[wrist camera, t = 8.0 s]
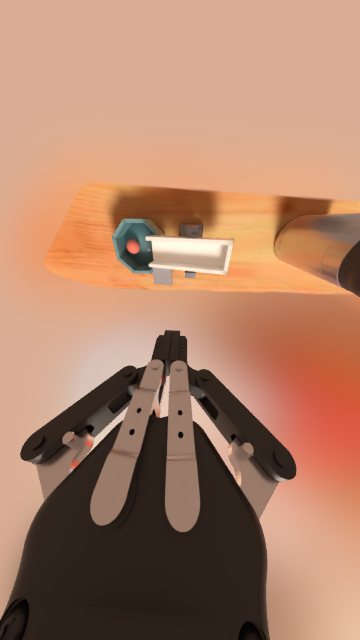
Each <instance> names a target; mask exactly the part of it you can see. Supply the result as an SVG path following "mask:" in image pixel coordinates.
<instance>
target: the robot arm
mask: <svg viewBox="0 0 360 640" xmlns="http://www.w3.org/2000/svg"><path fill="white" fill-rule="evenodd" d="M274 252H275V255H276V257H277V258H278V259H279V260H281V261H283V262H285V263H288V264H290V265H292V266H294V267H296V268H299V269H301V270H303V271H305V272H308V273H310V274H312V275H314V276H317V277H319V278H321V279H323V280H326V281H328V282H330V283H333V284H335V285H337V286H339V287H342V288H344V289H346V290H348V291H350V292H353V293H354V294H356V295H357V296H359V297H360V213H358V214H326V215H304V216H300V217H297V218H295V219H293V220H292V221H290V222H289V223H288V224H287V225H286V226H285V227H284V228H283V229H282V230H281V232H280V233H279V235H278V236H277V239H276V241H275V245H274ZM169 374H170V392H169V410H168V411H169V414H168V416H167V417H163V418H160V408H161V403H162V398H163V393H164V389H165V382H166V376H169ZM190 395H191V396H194V398H195V399H196V401H197V402H198V403H199V405H200V406H201V407H202V409H203V410H204V411H205V412H206V414H207V415H208V416H209V418H210V419H211V421H212V422H213V423H214V424H215V426H216V427H217V428H218V430H219V431H220V432H221V434H222V435H223V436H224V438H225V439H226V440H227V442H228V443H229V444H230V445H229V447H228V457H229V460H230V462H231V464H232V466H233V467H234V470H235V473H236V480H235V479H234V477H233V475H232V474H231V472H230V471H229V469H228V467H227V466H226V465H225V463H224V461H223V460H222V458H221V457H220V455H219V453H218V452H217V450H216V449H215V447H214V445H213V444H212V443H211V441H210V439H209V438H208V436H207V435H206V433H205V432H204V430H203V429H202V428H201V427H200V426H199V425H198V424H197V423H196V422H194V421H192V410H191V398H190ZM128 406H129V407H128ZM127 407H128V410H127V413H126V415H125V418H124V420H123V421H121V422H120V423H119V424H117V425H116V426H115V427H114V428H113V429H112V430H111V431H110V432H109V433H108V435H106V437H105V438H104V439H103V440H102V441H101V442H100V443H99V444H98V445H97V446H96V447H95V448H94V449H93V450H92V451H91V452H90V453H89V451H90V450H91V448H92V446H93V443H94V438H95V437H96V436H97V435H98V434H99V433H100V432H101V431H102V430H103V429H104V428H105V427H106V426H107V425H109V423H111V422H112V421H113V420H114V419H115V418H116V417H117V416H118V415H119V414H120V413H121V412H122V411H123V410H124V409H125V408H127ZM88 453H89V454H88ZM87 454H88V455H87ZM20 455H21V458H22V460H25V461H28V462H31V463H32V464H35V465H36V466H37V470H38V475H39V479H40V484H41V487H42V492H43V497H44V503H43V504H42V506H41V507H40V509H39V510H38V512H37V514H36V516H35V517H34V520H33V522H32V524H31V526H30V529H29V531H28V534H27V537H26V540H25V544H24V549H23V554H22V558H21V563H20V567H19V571H18V574H17V578H16V581H15V584H14V587H13V590H12V593H11V596H10V599H9V601H8V604H7V606H6V609H5V611H4V613H3V616H2V617H1V620H0V640H270V637H269V630H268V621H267V607H266V579H267V550H266V543H265V538H264V534H263V530H262V527H261V524H260V522H259V518H260V516H261V514H262V513H263V511H264V509H265V507H266V505H267V503H268V501H269V499H270V497H271V495H272V494H273V492H274V490H275V488H276V486H277V484H278V483H279V482H282V481H286V480H290V479H293V478H294V477H295V475H296V464H295V461H294V459H293V457H292V455H291V454H290V452H289V451H288V450H287V449H286V448H285V447H284V446H283V445H282V444H281V443H280V442H279V441H278V440H277V439H276V438H275V437H274V436H273V435H272V434H271V433H270V432H269V431H268V429H267V428H266V427H265V426H264V425H263V424H262V423H261V422H259V420H258V419H257V418H256V417H255V416H253V414H252V413H251V412H250V411H249V410H248V409H247V408H246V407H245V406H244V405H243V404H242V403H241V402H240V401H239V400H238V399H237V398H236V397H235V396H234V395H233V394H232V393H231V392H230V391H229V390H228V389H227V388H226V387H225V386H224V385H223V384H222V383H221V382H220V381H219V380H218V379H217V378H216V377H215V376H214V375H213V374H212V373H211V372H210V371H208V370H205V369H202V370H199V371H197V370H194V369H192V368H190V367H189V365H188V364H187V339H186V337H185V336H180V331H171V330H170V331H169V330H165V333H164V335H159V337H158V338H157V340H156V344H155V348H154V351H153V355H152V359H151V362H149V363H148V365H147V366H144V367H141V368H137V369H136V368H135V367H134V366H126V367H124V368H123V369H121V370H120V371H119V372H117V373H116V374H114V375H113V376H112V377H110V378H109V379H107V380H106V381H105V382H103V383H102V384H100V385H99V386H98V387H96V388H95V389H94V390H92V391H91V392H90V393H88V394H87V395H85V396H84V397H83V398H81V399H80V400H79V401H77V402H76V403H74V404H73V405H72V406H70V407H69V408H68V409H66V410H65V411H63V412H62V413H61V414H59V415H58V416H57V417H55V418H54V419H53V420H51V421H50V422H48V423H47V424H46V425H45V426H43V427H42V428H40V429H39V430H37V431H36V432H35V433H33V434H32V435H31V436H30V437H29V438H28V439H27V441H26V442H25V443H24V445H23V447H22V449H21V453H20ZM86 455H87V456H86ZM85 456H86V457H85Z"/></svg>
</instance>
